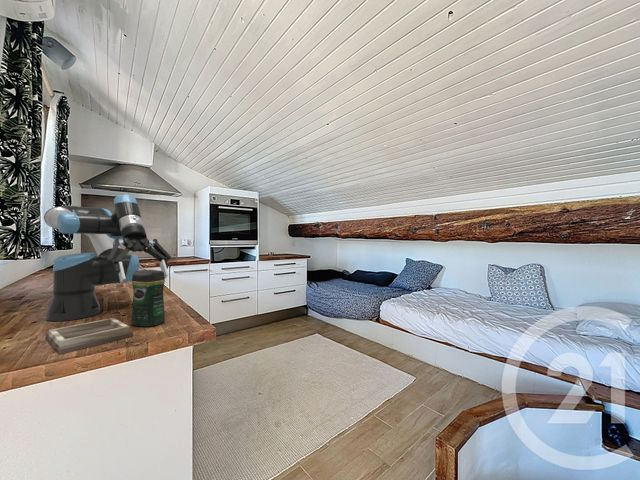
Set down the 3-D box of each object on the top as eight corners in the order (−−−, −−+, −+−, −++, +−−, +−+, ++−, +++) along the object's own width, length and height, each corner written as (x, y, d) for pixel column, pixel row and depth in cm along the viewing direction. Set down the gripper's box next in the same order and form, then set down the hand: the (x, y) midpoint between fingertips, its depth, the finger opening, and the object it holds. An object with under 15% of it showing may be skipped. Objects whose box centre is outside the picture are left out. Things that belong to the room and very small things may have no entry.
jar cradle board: (45, 338, 79) (45, 328, 79) (112, 324, 92) (112, 316, 92) (59, 354, 68) (59, 343, 68) (132, 336, 81) (133, 327, 81)
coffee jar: (169, 321, 96) (169, 269, 96) (149, 328, 88) (150, 271, 88) (147, 319, 99) (148, 268, 98) (126, 325, 91) (127, 270, 91)
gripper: (93, 221, 91) (105, 276, 84) (170, 225, 111) (185, 270, 104) (88, 234, 95) (98, 288, 87) (164, 236, 115) (177, 279, 107)
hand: (145, 278), depth 96 cm, fingers open, 13 cm apart
